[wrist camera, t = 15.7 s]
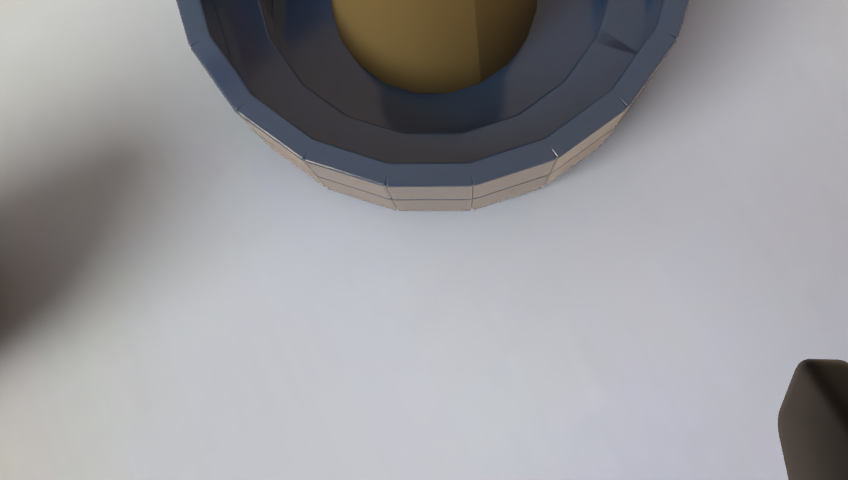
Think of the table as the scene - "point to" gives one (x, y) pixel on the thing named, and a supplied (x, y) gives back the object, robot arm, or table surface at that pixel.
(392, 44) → the yellow pawn piece
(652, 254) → the table surface
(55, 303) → the table surface
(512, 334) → the table surface
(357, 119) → the bowl
